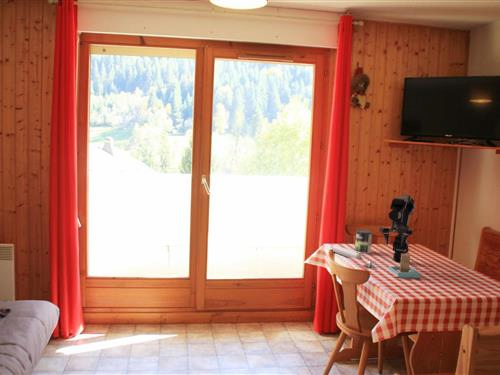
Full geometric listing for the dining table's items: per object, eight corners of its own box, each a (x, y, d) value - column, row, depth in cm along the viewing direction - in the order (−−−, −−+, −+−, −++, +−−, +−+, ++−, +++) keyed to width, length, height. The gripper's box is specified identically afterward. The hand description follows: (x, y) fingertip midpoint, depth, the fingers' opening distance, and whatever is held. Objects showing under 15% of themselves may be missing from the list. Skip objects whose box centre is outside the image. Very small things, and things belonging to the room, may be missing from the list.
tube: (364, 254, 314) (337, 245, 336) (358, 252, 312) (331, 243, 333) (361, 262, 314) (334, 252, 335) (355, 260, 311) (329, 251, 333)
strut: (399, 272, 289) (401, 253, 288) (407, 273, 288) (409, 254, 287) (400, 274, 285) (401, 255, 284) (408, 275, 284) (410, 256, 283)
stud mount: (373, 267, 299) (374, 260, 298) (377, 271, 292) (378, 263, 291) (361, 267, 298) (362, 260, 297) (366, 271, 291) (366, 263, 290)
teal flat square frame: (409, 271, 294) (410, 266, 294) (420, 278, 281) (420, 273, 281) (388, 271, 292) (388, 266, 292) (397, 278, 279) (398, 272, 279)
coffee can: (361, 254, 331) (362, 232, 329) (351, 250, 340) (353, 229, 339) (373, 253, 335) (375, 232, 334) (364, 249, 345) (365, 229, 343)
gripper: (387, 219, 293) (385, 246, 293) (418, 222, 295) (415, 248, 296) (380, 217, 304) (377, 243, 304) (409, 219, 306) (407, 245, 307)
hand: (394, 245), depth 303 cm, fingers open, 9 cm apart
